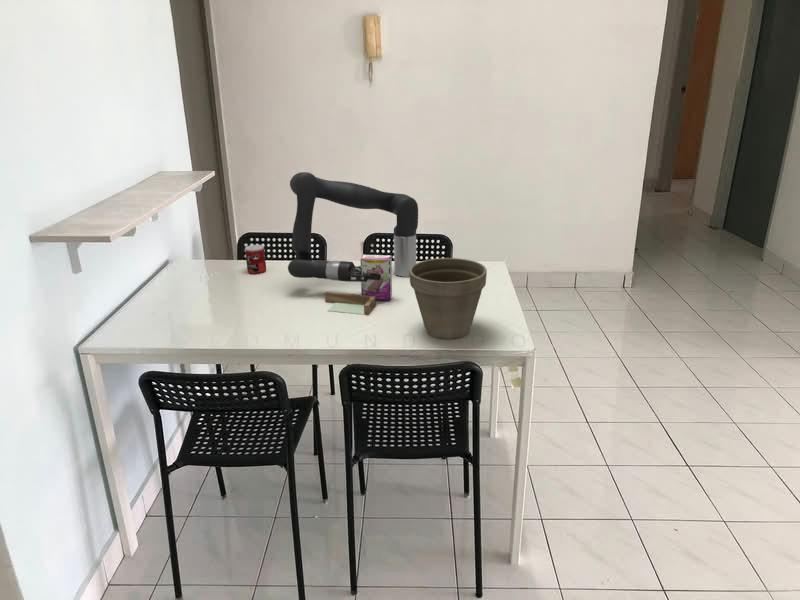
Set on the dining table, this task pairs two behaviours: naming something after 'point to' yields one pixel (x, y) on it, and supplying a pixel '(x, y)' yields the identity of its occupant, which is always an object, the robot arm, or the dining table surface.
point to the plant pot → (447, 294)
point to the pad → (347, 308)
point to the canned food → (255, 259)
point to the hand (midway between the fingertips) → (382, 274)
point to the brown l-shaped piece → (352, 300)
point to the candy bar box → (377, 266)
